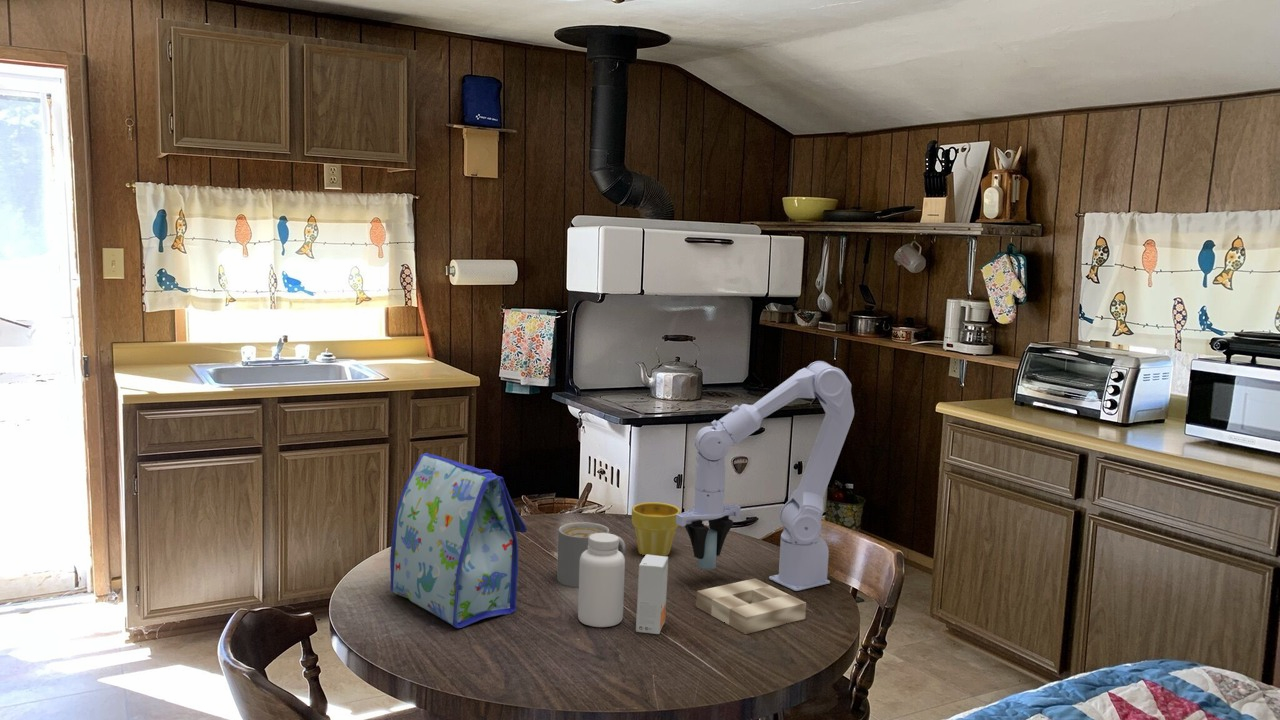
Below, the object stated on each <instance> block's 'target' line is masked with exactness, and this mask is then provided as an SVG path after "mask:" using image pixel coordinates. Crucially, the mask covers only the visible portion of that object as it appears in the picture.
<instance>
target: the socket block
mask: <svg viewBox="0 0 1280 720" xmlns="http://www.w3.org/2000/svg"><path fill="white" fill-rule="evenodd" d="M695 598H696V601H695V602H696V603H695V607H696V608H698V609H699V610H701V611H702V612H705V613H706V614H708V615H709V616H712V617H714V618H716V619H718V621H721V622H722V623H724V622H725V623H724V624H726V625H728V626H730V627H732V628H733V629H735V630H737V631H738V632H741V633H742V634H745V635H748V634H752V633H756V632H759V631H763V630H767V629H771V628H774V627H780V626H782V625H787V624H790V623H794V622H797V621H798V622H799V621H802V620H805V619H806V616H807V615H806V611H807V602H806V601H803V600H801V599H799V598H797V597H795V596H793V595H791V594H788V593H786V592H785V591H782V590H780V589H778V588H776V587H774V586H772V585H770V584H768V583H765V582H763V581H762V580H759V579H757V578H755V577H754V578H749V579H745V580H741V581H737V582H732V583H728V584H723V585H718V586H714V587H709V588H704V589H701V590H696V597H695ZM786 623H787V624H786Z"/></svg>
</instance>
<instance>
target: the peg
mask: <svg viewBox="0 0 1280 720" xmlns="http://www.w3.org/2000/svg"><path fill="white" fill-rule="evenodd" d="M716 551H717V531H715V530H712V529H710V528H709V530H708V532H707V536H706V540H705V549H704V557H703V559H698V558H697V567H698V568H699V569H702V570H714V569H716V567H717V566H716V565H717V555H716Z"/></svg>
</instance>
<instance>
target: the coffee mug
mask: <svg viewBox="0 0 1280 720" xmlns="http://www.w3.org/2000/svg"><path fill="white" fill-rule="evenodd" d="M557 531H558V532H557V533H558V534H557V535H558V536H557V537H558V538H557V539H558V540H557V566H556V567H557V570H556V571H557V572H556V573H557V574H556V575H557V576H556V579H557V582H558V583H559V584H561V585H563V586H566V587H570V588H577V589H579V565H580V557H581V555H582V553H583V552H584V551H586V550H588V538H589V536H590V535H592V534H595V533H609V534H610V528H609V527H608V526H606V525H603V524H601V523H596V522H588V521H587V522H586V521H581V522H580V521H578V522H577V521H576V522H570V523H569V522H568V523H565V524H562V525H561V526H560V527H559V528H558V530H557ZM618 538H619V546H618V549H617V550H618V551H620V552H621V553H622V554H623V556H624V557H625V555H626V544H625V541H624V540H623V538H621V537H620V536H618Z"/></svg>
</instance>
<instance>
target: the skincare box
mask: <svg viewBox="0 0 1280 720" xmlns="http://www.w3.org/2000/svg"><path fill="white" fill-rule="evenodd" d="M668 569H669V556H656V555H648V554H646V555H645V556H644V557H643V558H642V559H641V562H640V563H639V565H638V575H637V576H638V579H637V599H636V600H637V601H636V602H637V603H636V616H635V617H636V618H635V619H636V621H635V632H637V633H643V634H652V635H660V633H661V631H662V628H663V626H664V625H665V622H666V613H667V612H666V611H667V609H666V608H667V590H668V589H667V587H668V571H669V570H668Z"/></svg>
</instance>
